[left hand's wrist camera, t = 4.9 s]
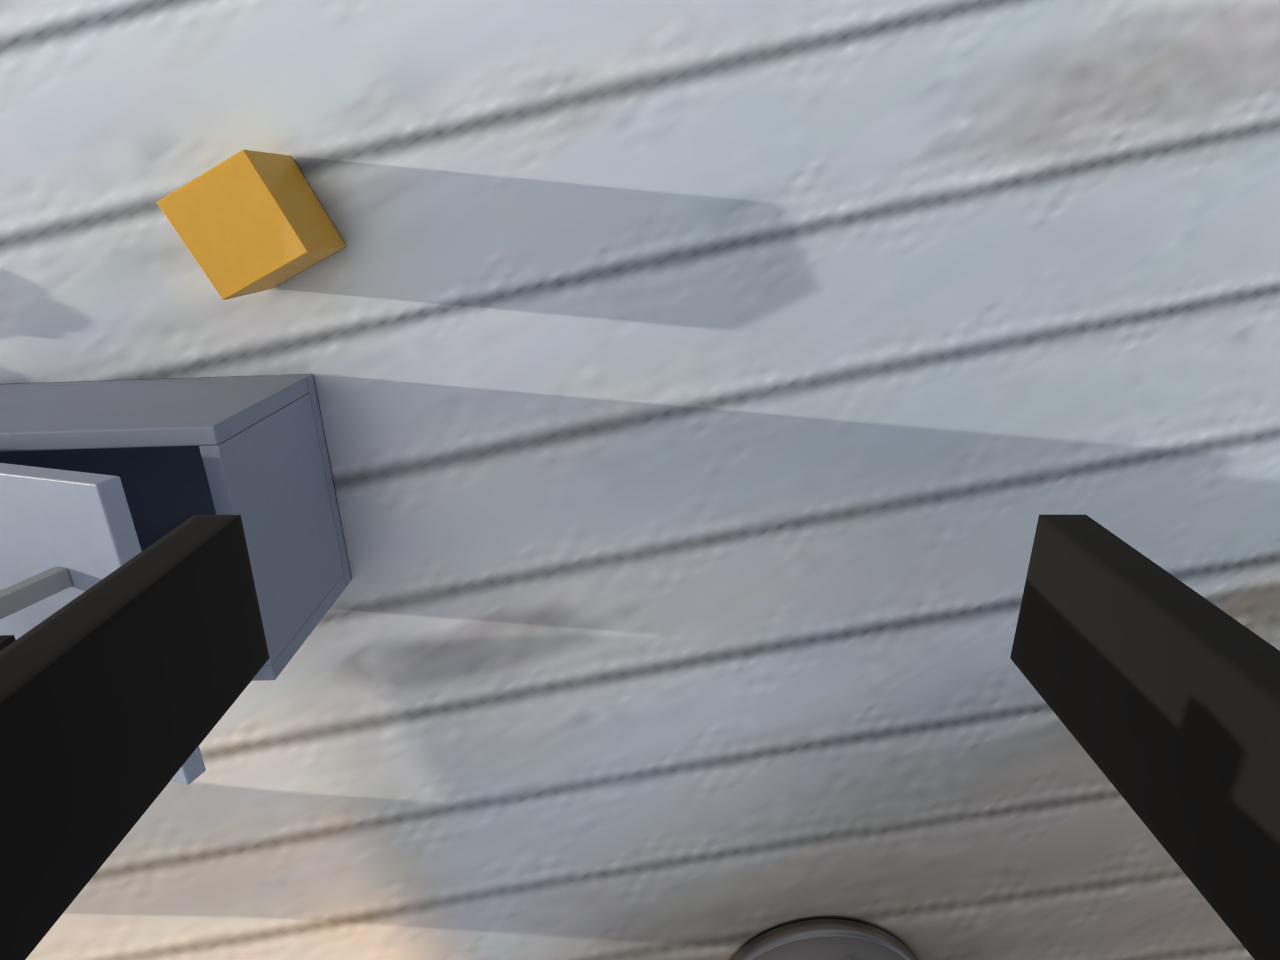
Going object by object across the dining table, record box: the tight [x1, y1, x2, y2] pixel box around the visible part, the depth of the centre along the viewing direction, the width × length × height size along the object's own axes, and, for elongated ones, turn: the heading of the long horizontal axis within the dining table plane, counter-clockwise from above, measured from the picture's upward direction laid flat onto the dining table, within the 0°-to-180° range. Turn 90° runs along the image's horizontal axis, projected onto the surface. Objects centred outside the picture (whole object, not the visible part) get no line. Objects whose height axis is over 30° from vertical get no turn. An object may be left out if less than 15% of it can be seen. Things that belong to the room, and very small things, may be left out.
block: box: [157, 150, 346, 300], centre depth 35 cm, size 5×5×5 cm
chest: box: [0, 374, 351, 681], centre depth 37 cm, size 17×12×10 cm
